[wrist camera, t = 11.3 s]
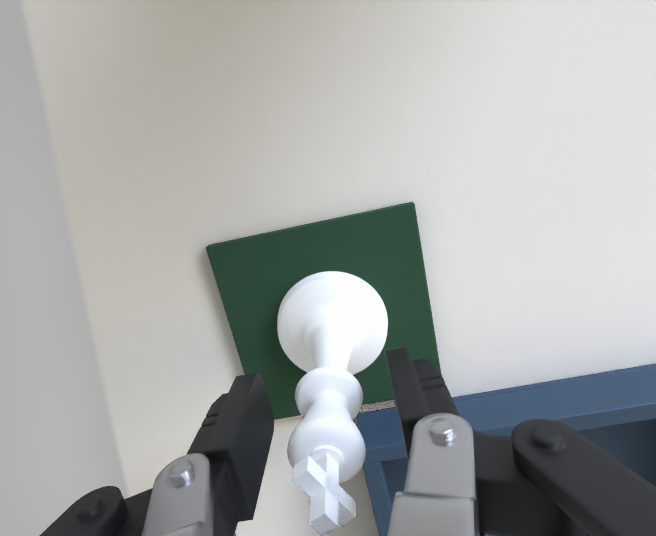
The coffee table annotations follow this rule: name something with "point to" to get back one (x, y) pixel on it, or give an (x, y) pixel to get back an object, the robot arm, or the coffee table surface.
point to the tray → (524, 404)
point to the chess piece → (330, 384)
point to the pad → (314, 257)
